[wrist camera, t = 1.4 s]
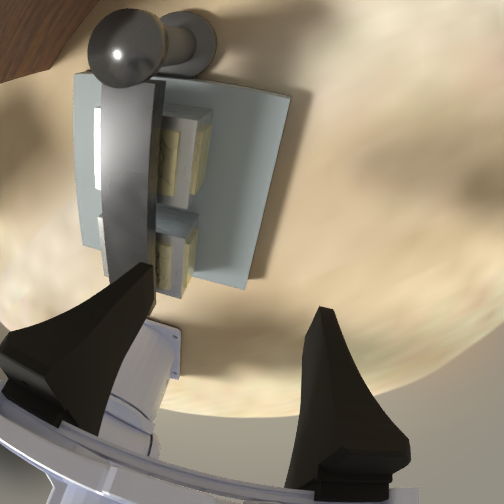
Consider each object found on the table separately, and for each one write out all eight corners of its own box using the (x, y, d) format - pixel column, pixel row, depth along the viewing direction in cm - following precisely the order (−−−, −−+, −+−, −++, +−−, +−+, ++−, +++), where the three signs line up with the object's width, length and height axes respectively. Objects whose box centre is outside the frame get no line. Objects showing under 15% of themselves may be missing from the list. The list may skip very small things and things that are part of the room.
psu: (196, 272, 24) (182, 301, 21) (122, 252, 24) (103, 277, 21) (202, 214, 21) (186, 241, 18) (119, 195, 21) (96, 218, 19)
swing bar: (161, 305, 21) (150, 326, 20) (115, 290, 21) (102, 310, 20) (185, 12, 11) (167, 7, 9) (116, 12, 11) (92, 11, 9)
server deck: (247, 280, 25) (232, 334, 21) (90, 237, 25) (54, 277, 21) (307, 29, 14) (306, 18, 10) (90, 15, 15) (33, 16, 10)
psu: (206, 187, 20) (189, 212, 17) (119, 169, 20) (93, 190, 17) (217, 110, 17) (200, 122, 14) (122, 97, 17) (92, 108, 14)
